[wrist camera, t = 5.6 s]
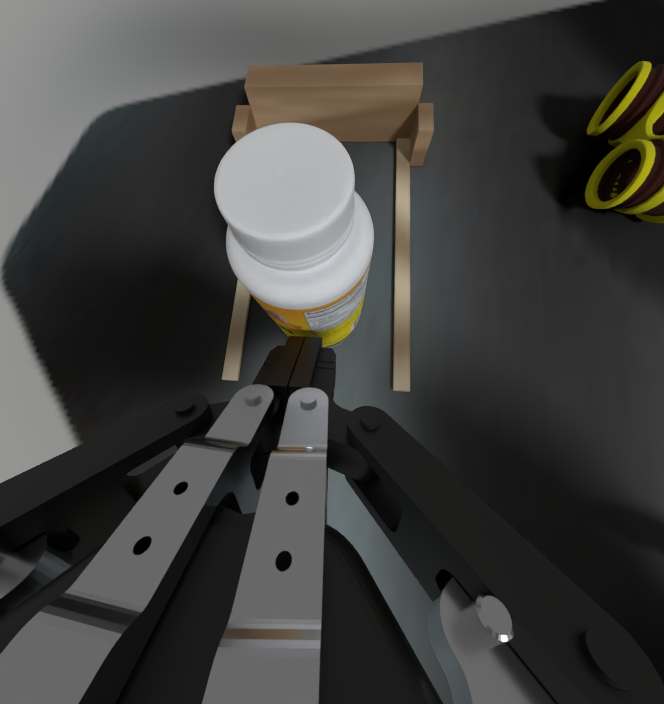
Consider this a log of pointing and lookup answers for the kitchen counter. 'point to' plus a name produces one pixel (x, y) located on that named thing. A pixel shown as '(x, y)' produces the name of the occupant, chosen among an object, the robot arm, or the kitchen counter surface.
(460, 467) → the kitchen counter surface
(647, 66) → the opera glasses
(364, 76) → the bay
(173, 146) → the kitchen counter surface
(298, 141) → the supplement bottle
